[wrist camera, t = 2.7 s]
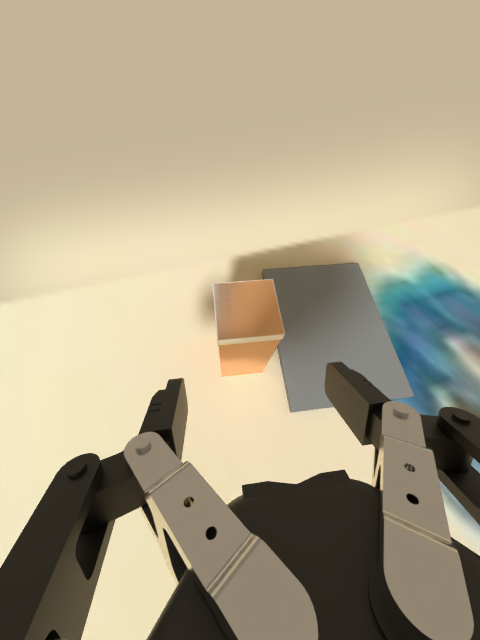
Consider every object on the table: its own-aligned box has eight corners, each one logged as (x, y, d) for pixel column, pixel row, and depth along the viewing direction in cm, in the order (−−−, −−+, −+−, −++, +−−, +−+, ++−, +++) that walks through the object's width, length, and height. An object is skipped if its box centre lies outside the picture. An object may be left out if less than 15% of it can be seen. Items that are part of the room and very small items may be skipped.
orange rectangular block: (221, 377, 23) (217, 341, 14) (218, 338, 24) (212, 283, 15) (262, 372, 23) (285, 334, 14) (256, 334, 25) (272, 278, 16)
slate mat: (290, 412, 22) (291, 411, 21) (262, 272, 28) (263, 269, 28) (409, 396, 23) (414, 396, 22) (355, 266, 29) (357, 262, 29)
